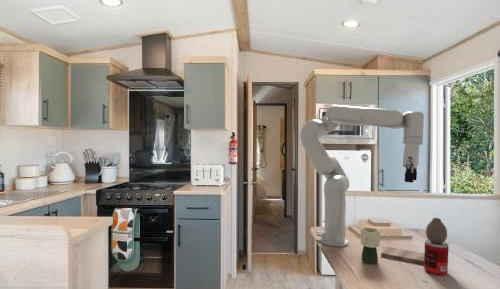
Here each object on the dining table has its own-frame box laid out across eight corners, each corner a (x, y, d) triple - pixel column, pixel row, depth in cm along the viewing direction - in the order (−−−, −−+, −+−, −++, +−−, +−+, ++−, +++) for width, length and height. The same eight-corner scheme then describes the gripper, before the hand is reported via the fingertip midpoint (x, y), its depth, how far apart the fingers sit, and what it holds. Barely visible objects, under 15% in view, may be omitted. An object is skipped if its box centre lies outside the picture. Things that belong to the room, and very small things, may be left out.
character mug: (367, 256, 137) (368, 225, 136) (384, 261, 131) (385, 229, 131) (354, 262, 129) (354, 230, 129) (371, 268, 124) (372, 234, 124)
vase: (450, 245, 117) (450, 221, 117) (429, 244, 119) (429, 220, 119) (442, 239, 124) (443, 217, 124) (423, 238, 126) (423, 215, 125)
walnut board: (381, 256, 136) (381, 253, 136) (385, 249, 145) (385, 246, 145) (424, 264, 128) (424, 261, 128) (426, 257, 136) (426, 253, 136)
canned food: (447, 270, 123) (448, 241, 123) (447, 277, 116) (448, 247, 116) (424, 265, 127) (425, 237, 127) (423, 272, 120) (424, 243, 120)
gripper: (406, 140, 148) (404, 178, 148) (399, 140, 133) (397, 182, 134) (425, 141, 143) (423, 180, 144) (419, 141, 129) (417, 184, 130)
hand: (410, 181), depth 139 cm, fingers open, 9 cm apart
